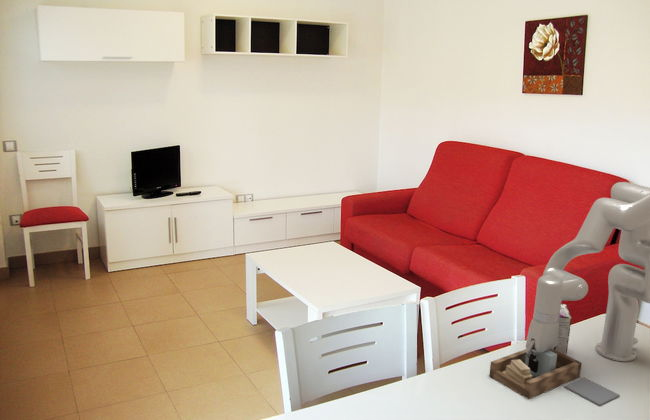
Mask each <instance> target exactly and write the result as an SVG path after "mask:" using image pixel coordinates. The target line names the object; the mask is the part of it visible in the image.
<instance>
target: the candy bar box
mask: <svg viewBox="0 0 650 420" xmlns="http://www.w3.org/2000/svg"><path fill="white" fill-rule="evenodd" d="M569 311H570V310H569V309H568V306H567V304H564V303H561V309H560V316H559V336H558V339H559V341H560V342H559V343H558V345H557V347H556V349H555V350H556V351H558V352H560V353H562V354H565V355H567V356H568V349H569V348H568V347H569V339H570V332H571V326H572V325H571V324H572V316H571V313H570V312H569Z"/></svg>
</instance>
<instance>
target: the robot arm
mask: <svg viewBox="0 0 650 420" xmlns="http://www.w3.org/2000/svg"><path fill="white" fill-rule="evenodd" d="M614 229H618V230H620V232H621V233H620V238H619V243H618V251H617V253H618V255H619V257H620V258H621V260H624V262H625V261H626V262H628V263H630V264H627V263H618V264H616V265H614V266H613V267H611V269H610V270H609V273H608V276H607V277H608V278H607V279H608V280H607V283H608V299H607V306H606V312H605V319H604V324H603V332H602V338H601V341H600V342H599V343H597V344H596V346H595V350H596V352H597V353H598V354H599V355H600V356H602V357H604V358H607V359H610V360H613V361H617V362H631V361H634V360H635V359H636V358H637V352H636V351H635V350H634V348H633V347H634V345H636V344H638V342H639V339H637V337H635V334H636V327H637V323H638V317H639V312H640V311H639V309H640V306H639V301H641V302H643V303H646V304H650V186H644V185H640V184H637V183H632V182H628V181H619V182H616V183H614V184H612V187H611V189H610V198H609V197H601V198H598V199H596V200H595V201H594V202H593V204H592V206H591V207H590V209H589V211H588V213H587V214H586V218H585V219H584V221H583V223H582V225H581V227H580V229H579V231H578V233H577V235H576V237H575V238H574V239H573V240H571V241H568V242H567V243H566V244H564V245H563V246H561V247H560V248H559V249H557V250H556V251H555V252H554V253H553V254H552V255H551V257H550V259H549V261H548V262H547V263H546V266H545V268H544V270H543V274H542V276H540V277H539V278H538V279H537V282H536V283H537V284H536V293H535V300H534V301H535V302H534V309H533V315H532V316H533V317H532V319H531V321H530V324H529V328H528V331H527V338H526V341H525V343H526V344H525V347H526V348H525V349H526V350H525V349H524V350H525V353H526V354H527V356H528V358H529V363H528V367H529V368H530V370H531V371H533V372H535V373H537V371H538V363H539V361H537V360H538V357H539V355H540V353H541V352H544V351H547V350H550V351H552V352H554V351H555V349H556V347H557V345H558V343H559V342H560V341H559V339H558V336H559V316H560V309H561V304H562V302H563V301H572V302H573V301H579V300H582V299H583V298H585V297H586V295H588V292H589V285H588V283H587V282H586V280H585V279H584V278H582V277H580V276H577V275H575V274H572V273H570V272H568V271H566V270H564V269H565V267H566V266H567V264H569V262H570V261H572V260H573V259H574V258H577V257H579V256H582V255H583V256H584V255H589V254H596V253H601V252H602V251H603V250H604V248H605V246H606V244H607V242H608V240H609V239H610V236H611V235H612V233H613V231H614ZM631 264H634V265H636V266H637V267H636V266H634V265H631ZM639 267H641V268H644V269H645V270H644V269H641V268H639ZM638 300H639V301H638ZM534 348H535V349H536V350H535V349H534ZM533 352H535V353H536V355H535V356H534V355H533Z"/></svg>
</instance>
